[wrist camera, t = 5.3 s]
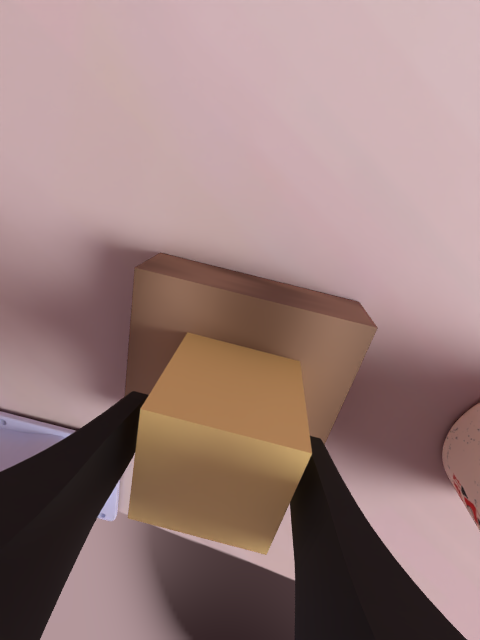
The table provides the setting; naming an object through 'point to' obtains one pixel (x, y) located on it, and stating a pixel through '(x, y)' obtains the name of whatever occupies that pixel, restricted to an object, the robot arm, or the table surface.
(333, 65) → the table surface
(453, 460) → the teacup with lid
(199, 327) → the walnut base
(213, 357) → the ochre block
